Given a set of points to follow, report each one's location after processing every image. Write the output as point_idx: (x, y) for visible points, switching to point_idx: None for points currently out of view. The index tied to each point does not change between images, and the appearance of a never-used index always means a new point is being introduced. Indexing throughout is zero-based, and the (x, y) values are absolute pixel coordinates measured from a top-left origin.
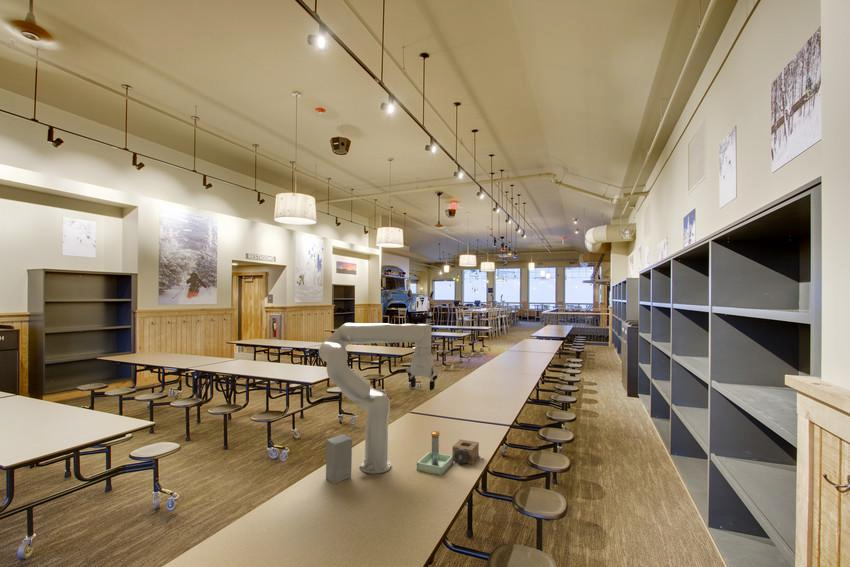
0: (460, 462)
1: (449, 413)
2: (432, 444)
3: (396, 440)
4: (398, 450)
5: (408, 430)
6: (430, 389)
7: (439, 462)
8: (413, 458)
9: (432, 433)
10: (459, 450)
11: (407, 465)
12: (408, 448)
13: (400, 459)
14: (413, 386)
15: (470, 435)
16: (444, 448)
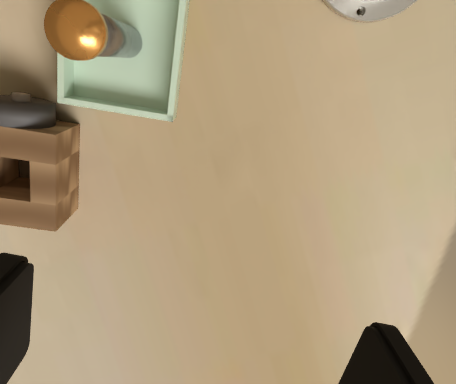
0: (34, 98)
1: None
2: (108, 17)
3: (352, 251)
4: (320, 159)
5: (328, 350)
6: (3, 255)
7: (117, 73)
8: (239, 97)
9: (85, 5)
10: (11, 104)
11: (244, 16)
12: (286, 190)
13: (289, 71)
14: (360, 357)
15: (92, 365)
16: (147, 228)
